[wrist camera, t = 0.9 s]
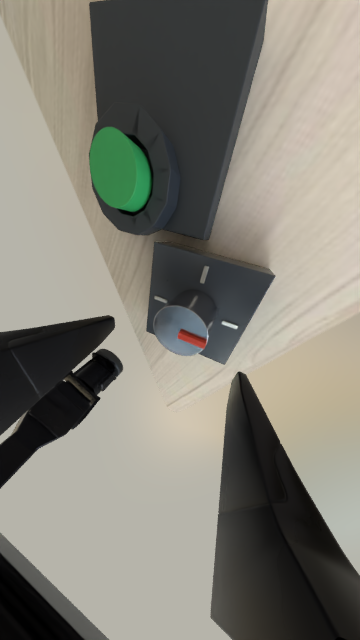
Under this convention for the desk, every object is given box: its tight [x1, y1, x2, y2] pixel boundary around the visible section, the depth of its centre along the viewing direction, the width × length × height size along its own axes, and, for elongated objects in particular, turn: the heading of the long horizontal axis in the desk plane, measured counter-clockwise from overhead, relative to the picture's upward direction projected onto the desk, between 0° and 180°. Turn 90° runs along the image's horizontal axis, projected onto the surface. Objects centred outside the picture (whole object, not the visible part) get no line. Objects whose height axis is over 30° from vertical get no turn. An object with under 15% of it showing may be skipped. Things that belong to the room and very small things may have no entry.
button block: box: [89, 0, 268, 240], centre depth 10 cm, size 10×11×4 cm
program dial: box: [153, 289, 216, 356], centre depth 12 cm, size 4×4×4 cm
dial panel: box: [146, 242, 275, 365], centre depth 15 cm, size 10×10×3 cm
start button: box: [90, 127, 152, 212], centre depth 10 cm, size 4×4×2 cm
